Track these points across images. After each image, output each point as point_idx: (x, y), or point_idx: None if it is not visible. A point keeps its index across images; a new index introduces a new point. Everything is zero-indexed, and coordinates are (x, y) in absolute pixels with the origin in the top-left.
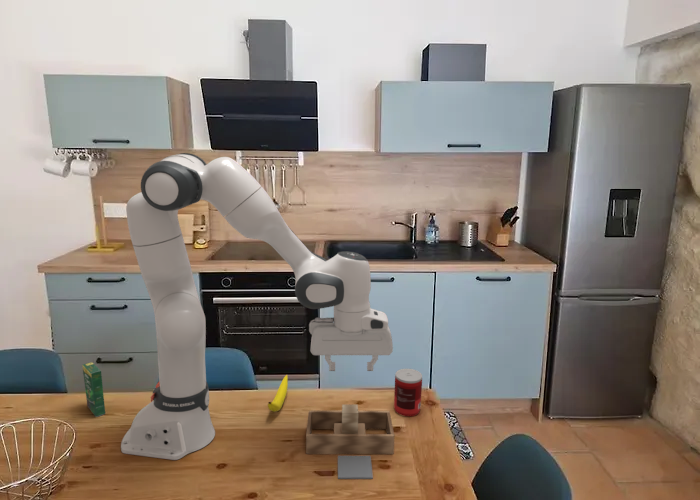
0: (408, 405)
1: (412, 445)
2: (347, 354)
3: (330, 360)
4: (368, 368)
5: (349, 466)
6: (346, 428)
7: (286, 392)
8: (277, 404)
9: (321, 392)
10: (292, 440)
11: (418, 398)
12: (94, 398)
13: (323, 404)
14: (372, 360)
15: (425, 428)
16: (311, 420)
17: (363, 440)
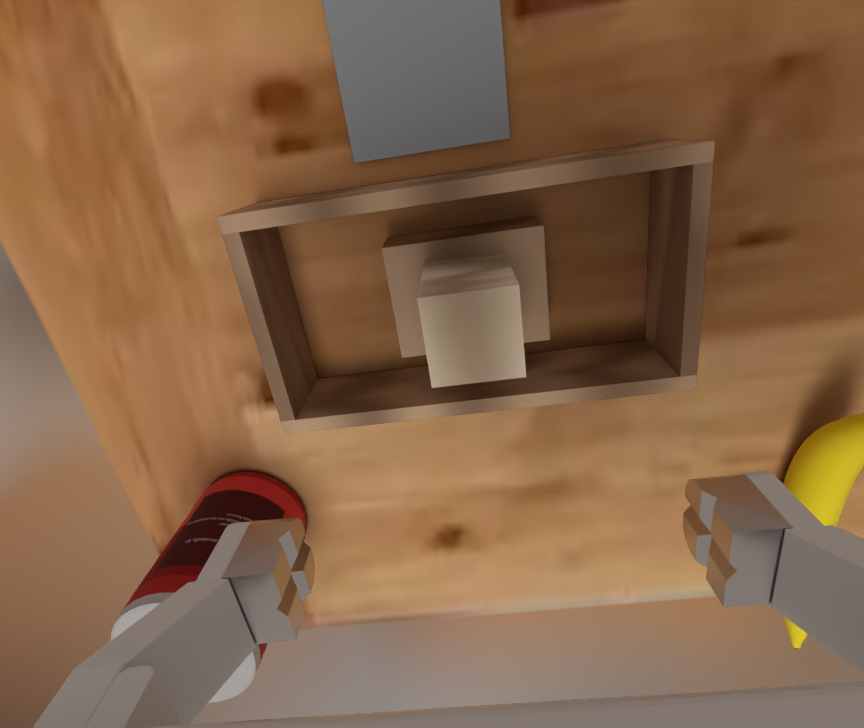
0: (222, 502)
1: (187, 281)
2: (607, 715)
3: (824, 611)
4: (274, 538)
5: (444, 52)
6: (483, 261)
7: None
8: (843, 445)
9: (609, 582)
10: (735, 241)
11: (172, 538)
12: None
13: (598, 511)
14: (199, 653)
15: (160, 404)
16: (665, 348)
17: (384, 189)
